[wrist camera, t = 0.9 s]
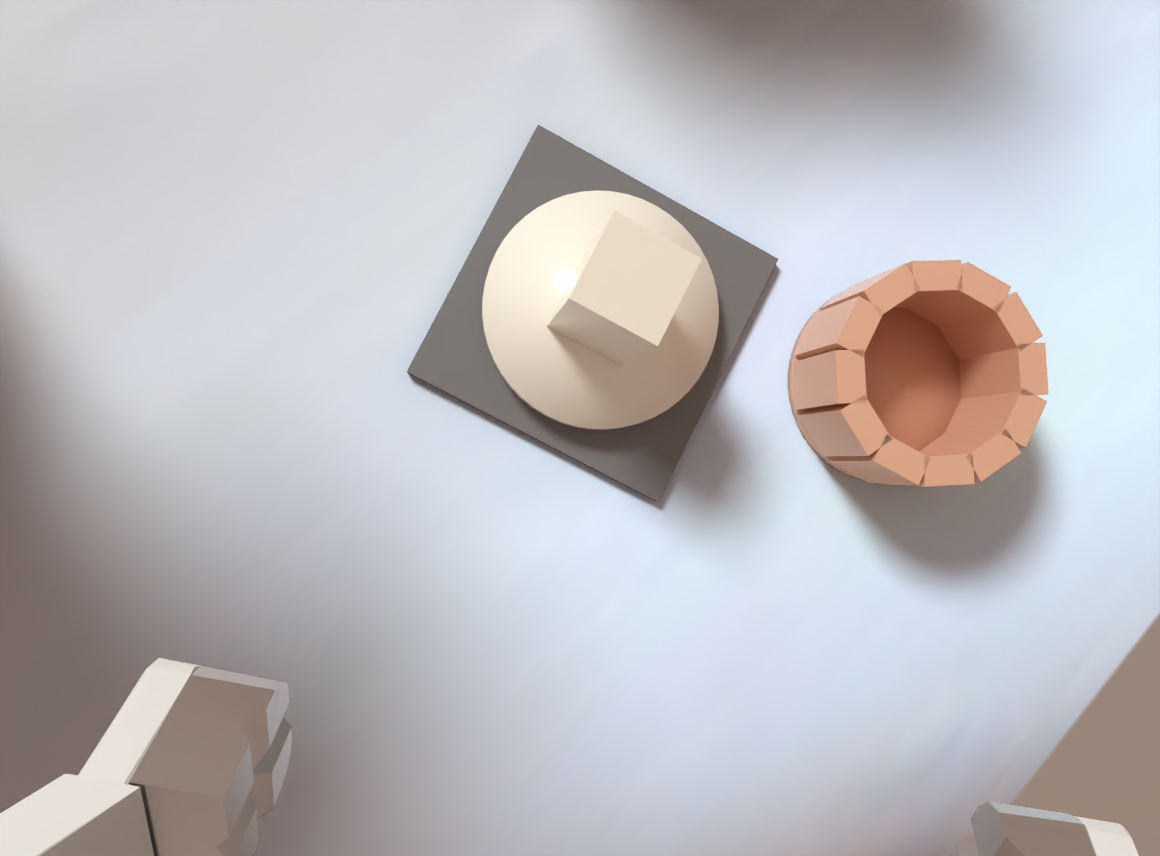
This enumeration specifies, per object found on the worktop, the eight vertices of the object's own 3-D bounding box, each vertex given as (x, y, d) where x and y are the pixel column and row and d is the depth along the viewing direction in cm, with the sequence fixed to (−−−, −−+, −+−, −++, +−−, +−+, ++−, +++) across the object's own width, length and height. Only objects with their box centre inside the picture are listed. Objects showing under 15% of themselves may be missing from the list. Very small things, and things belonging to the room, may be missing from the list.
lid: (439, 361, 40) (440, 336, 32) (548, 156, 41) (574, 83, 33) (648, 470, 41) (697, 472, 33) (748, 267, 42) (820, 223, 34)
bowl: (754, 425, 43) (798, 420, 37) (840, 249, 44) (895, 220, 38) (924, 516, 44) (990, 524, 38) (1005, 342, 45) (1081, 327, 39)
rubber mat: (407, 372, 41) (406, 371, 40) (536, 128, 42) (538, 124, 41) (655, 500, 42) (658, 501, 41) (774, 261, 43) (778, 258, 43)
